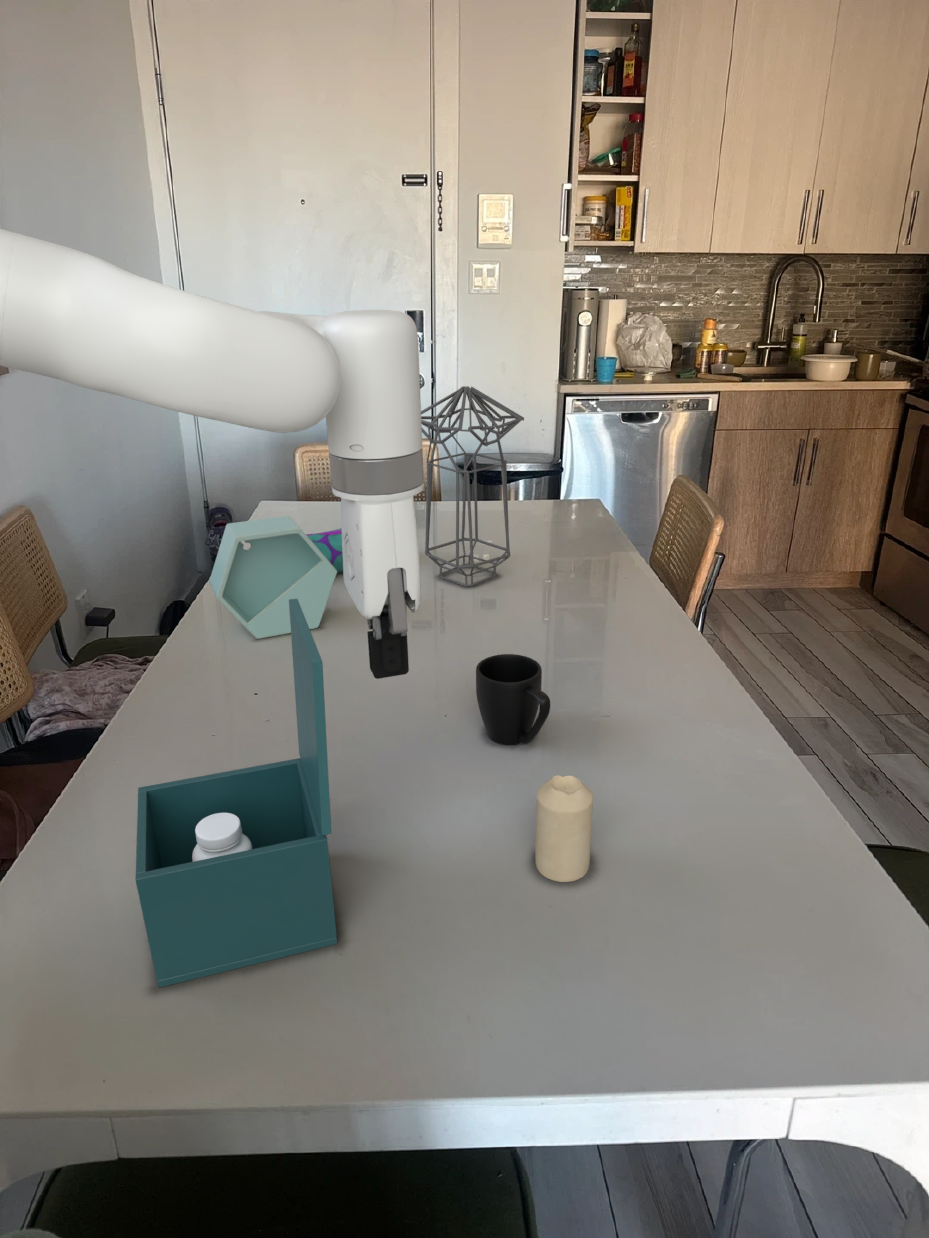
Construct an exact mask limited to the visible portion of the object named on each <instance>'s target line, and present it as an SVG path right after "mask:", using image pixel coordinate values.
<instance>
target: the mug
mask: <svg viewBox="0 0 929 1238" xmlns="http://www.w3.org/2000/svg"><path fill="white" fill-rule="evenodd" d="M542 672H543V670H542V666H541V664H540V663H539V662H538V661H537V660H535V659H533V658H531V657H528V656H526V655H521V654H514V653H504V654H503V653H502V654H496V655H490V656H488V657H486V658H483V659H481V661H479V662H478V663H477V665H476V667H475V692H476V700H477V705H478V709H479V714H480V716H481V721H482V724H483V725H484V729H485V732H486V736H487V737H488V739H489V740H490V741H492V742H493V743H495V744H499V745H502V746H503V745H504V746H515V745H518V744H528V743H530V742H532V741H533V739H535V737H536V736H537V735H538V733H539V732H540V731H541V729H542V728H543V725H544V724H545V722H546V721H547V719H548V717H549V715H550V712H551V698H550V697H549V696H548V695H547V693H545V692H544V691H543V690H542V683H543V682H542V680H543V679H542V678H543V673H542ZM537 714H538V715H537Z"/></svg>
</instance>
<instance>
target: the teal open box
mask: <svg viewBox="0 0 929 1238" xmlns="http://www.w3.org/2000/svg"><path fill="white" fill-rule="evenodd" d="M216 813H231V814H234V815H236V816H237V817H238V818H239V820H240V823H241V828H242V834H244V835H246V836H247V837H248V838H249V840H250V841H251V844H252V848H253V849H252V850H247V851H242V852H237V853H232V854H228V855H223V856H218V857H213V858H209V859H204V860H199V861H194V862H193V861H192V853H193V850H194V848H195V846H196V845H197V840H196V833H195V829H196V826H197V824H198V823H199V822H200V821H201V820H202V819H204V818H205V817H207V816H210V815H212V814H216ZM135 846H136V847H135V848H136V849H135V853H136V854H135V877H134V879H135V884H136V890H137V894H138V898H139V904H140V908H141V912H142V918H143V922H144V927H145V931H146V936H147V941H148V946H149V951H150V955H151V960H152V965H153V969H154V974H155V979H156V984H157V987H158V988H164V987H167V986H172V985H177V984H180V983H184V982H188V981H192V980H196V979H200V978H204V977H209V976H212V975H216V974H221V973H225V972H228V971H232V970H236V969H241V968H245V967H248V966H254V965H258V964H261V963H266V962H270V961H274V960H278V959H282V958H287V957H289V956H290V957H291V956H294V955H297V954H302V953H306V952H310V951H314V950H318V949H322V948H327V947H330V946H334V945H338V938H337V937H338V934H337V925H336V915H335V904H334V895H333V885H332V875H331V874H332V873H331V863H330V855H329V854H330V852H329V844H328V838H327V835H322V833H321V829H320V826H319V822H318V819H317V815H316V812H315V808H314V804H313V801H312V797H311V794H310V790H309V787H308V783H307V780H306V776H305V773H304V769H303V765H302V762H301V758H300V757H298V758H293V759H288V760H282V761H276V762H271V763H270V762H269V763H266V764H265V763H264V764H259V765H254V766H250V767H248V766H247V767H243V768H238V769H237V768H236V769H233V770H232V769H231V770H227V771H221V772H216V773H209V774H205V775H200V776H194V777H188V778H184V779H178V780H177V779H176V780H172V781H167V782H162V783H157V784H150V785H145V786H140V787H137V815H136V845H135Z"/></svg>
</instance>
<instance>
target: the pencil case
mask: <svg viewBox="0 0 929 1238" xmlns="http://www.w3.org/2000/svg"><path fill="white" fill-rule="evenodd" d="M305 534H306V533H305ZM306 535H307V536H308V537H309V539H310V540H311V541H312V542H313V543H314V544H315V546H316V547H317V548H318V549H319V550H320V551H321V553H322V554H323V555H324V556H325V557H326V558H327V560H328V561H329V562H330V563H331V564H332V565H333V567H334V568H335V569H336V570H337V574H343V551H342V527H341V528H338V529H334V530H328V531H323V532H317V533H307V534H306ZM337 574H336V575H337Z"/></svg>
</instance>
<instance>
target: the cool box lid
mask: <svg viewBox="0 0 929 1238" xmlns="http://www.w3.org/2000/svg"><path fill="white" fill-rule="evenodd" d="M289 610H290V625H291V633H290V638H291V651H292V652H291V655H292V669H293V684H294V697H295V713H296V714H295V715H296V727H297V728H296V729H297V742H298V753H299V758H301V762H302V765H303V769H304V773H305V776H306V780H307V783H308V787H309V790H310V794H311V797H312V801H313V804H314V808H315V812H316V815H317V819H318V822H319V826H320V829H321V833H322V835H326V836H328V835H331V834H332V819H331V801H330V800H331V799H330V783H329V781H330V779H329V762H328V761H329V760H328V742H327V726H326V725H327V724H326V723H327V721H326V706H325V705H326V704H325V683H324V668H323V667H324V666H323V664H324V663H323V659H322V657H321V654H320V652H319V649H318V647H317V644H316V642H315V640H314V636H313V634H312V632H311V629H309V626H308V624H307V621H306V619H305V616H304V614H303V611H302V609H301V606H300V604H299V601H298V599H289Z"/></svg>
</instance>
